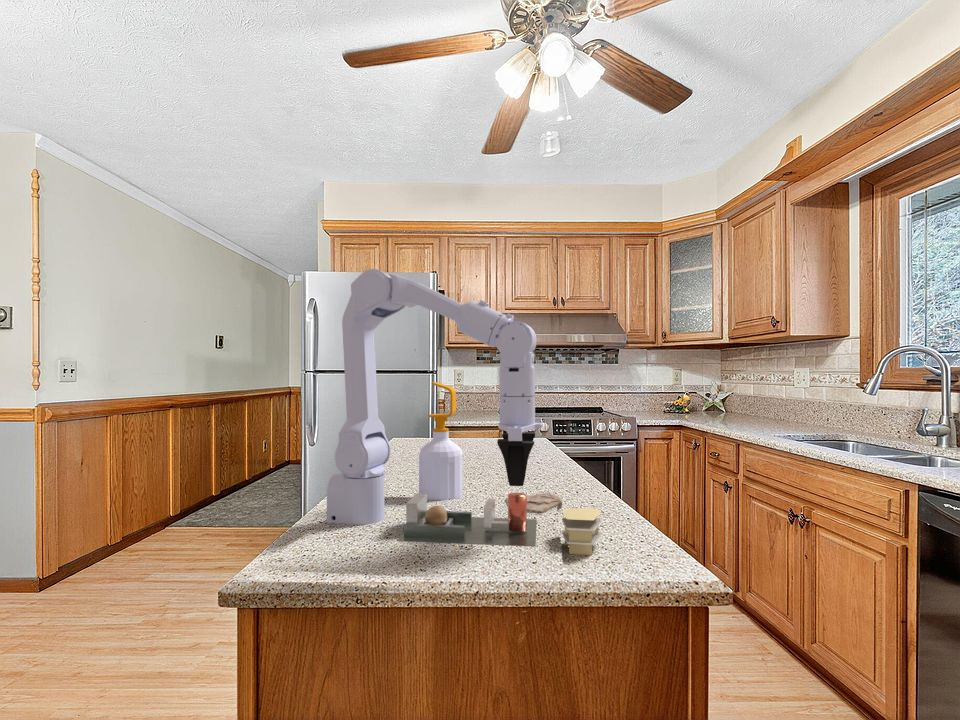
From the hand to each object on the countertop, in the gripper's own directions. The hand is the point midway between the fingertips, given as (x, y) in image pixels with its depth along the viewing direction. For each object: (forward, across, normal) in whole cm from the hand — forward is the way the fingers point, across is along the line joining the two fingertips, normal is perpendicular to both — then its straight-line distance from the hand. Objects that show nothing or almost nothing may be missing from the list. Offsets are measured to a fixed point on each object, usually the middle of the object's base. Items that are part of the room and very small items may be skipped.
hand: (517, 480), depth 85 cm
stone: (+10, +17, -2) cm, 20 cm away
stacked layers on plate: (+10, -3, -10) cm, 14 cm away
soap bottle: (+10, +23, +17) cm, 30 cm away
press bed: (+9, 0, +8) cm, 12 cm away
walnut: (+8, 0, +13) cm, 16 cm away
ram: (+8, 0, +2) cm, 8 cm away
